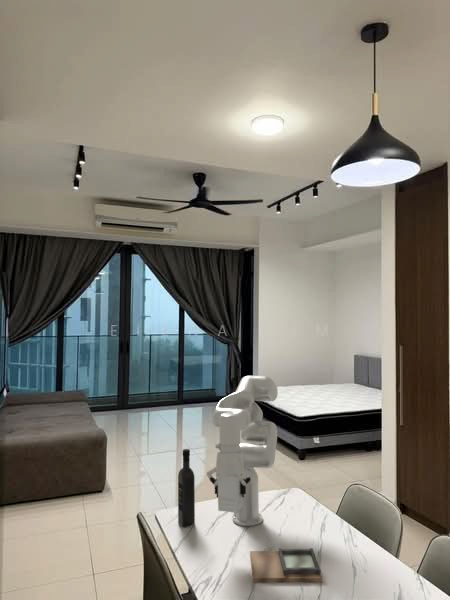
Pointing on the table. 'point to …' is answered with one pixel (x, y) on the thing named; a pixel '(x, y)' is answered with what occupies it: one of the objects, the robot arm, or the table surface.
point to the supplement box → (230, 494)
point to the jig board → (285, 566)
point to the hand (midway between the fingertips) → (230, 495)
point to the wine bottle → (186, 492)
